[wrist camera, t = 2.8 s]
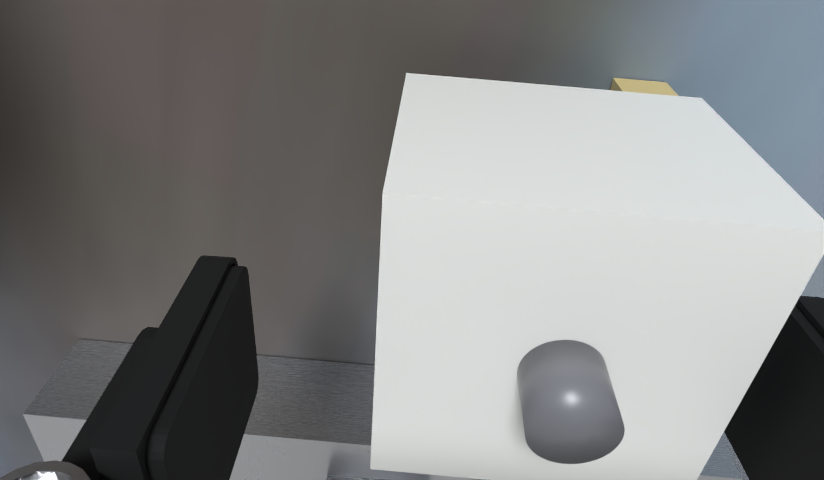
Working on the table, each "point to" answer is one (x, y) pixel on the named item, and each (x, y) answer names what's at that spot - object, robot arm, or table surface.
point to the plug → (574, 280)
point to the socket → (263, 418)
